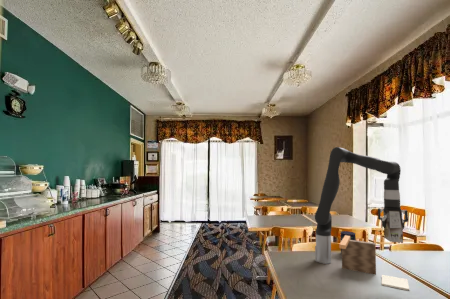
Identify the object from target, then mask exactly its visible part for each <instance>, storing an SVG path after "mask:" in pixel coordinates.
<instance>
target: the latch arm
mask: <svg viewBox="0 0 450 299" xmlns="http://www.w3.org/2000/svg"><path fill="white" fill-rule="evenodd" d="M349 241H350V236H346V235H345V236H344V238H343V239H342V241H341V240H340V243H339V245H338V246H339V249H340V250H341V249H346V247H347V245H348V243H349Z"/></svg>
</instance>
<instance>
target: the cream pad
mask: <svg viewBox="0 0 450 299" xmlns="http://www.w3.org/2000/svg"><path fill="white" fill-rule="evenodd" d="M409 285H410V284H409V281H408V279H407V278H402V277H398V276H391V275H385V274H381V286H385V287H389V288H394V289H400V290H403V291H408V290H409V291H410V286H409Z"/></svg>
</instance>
